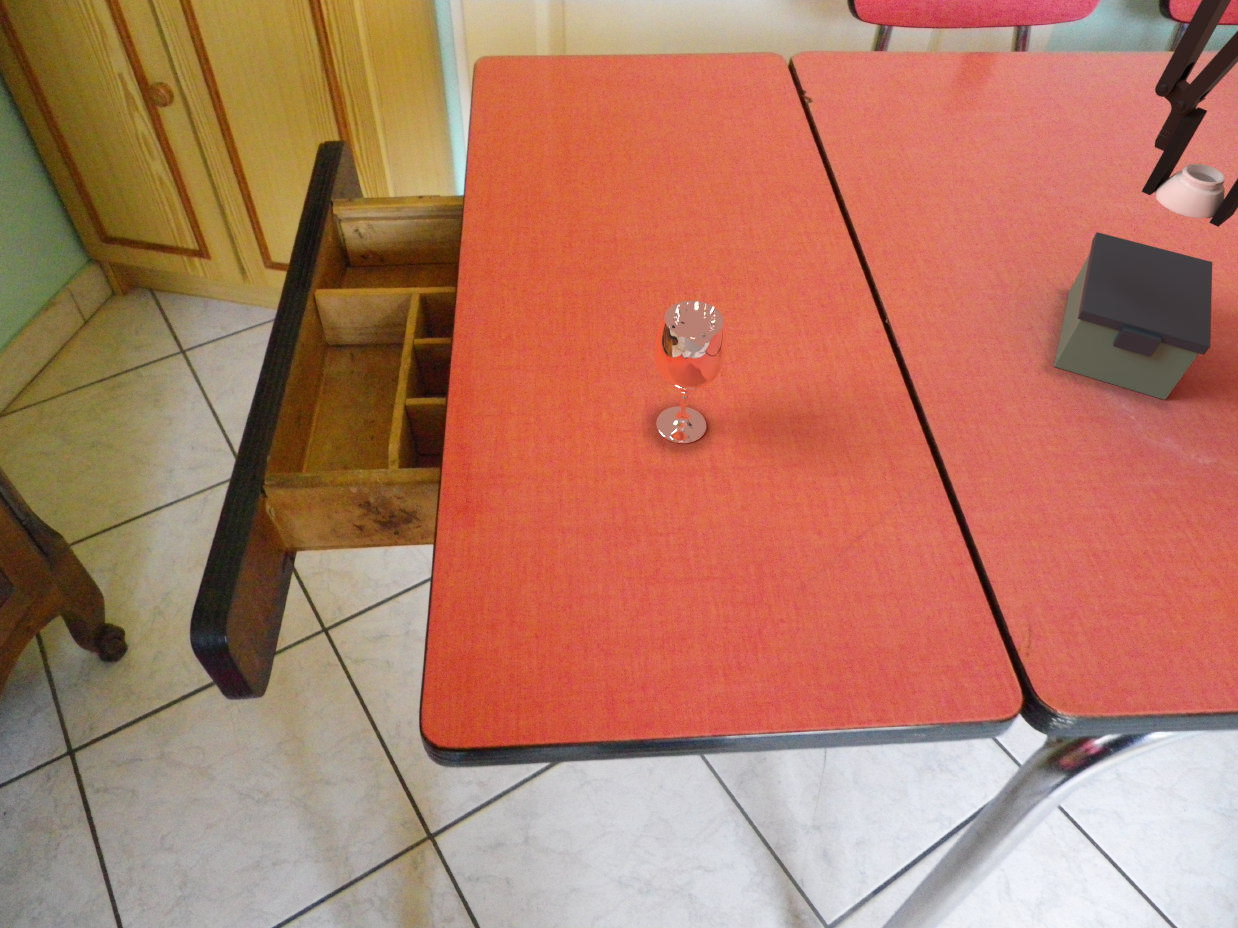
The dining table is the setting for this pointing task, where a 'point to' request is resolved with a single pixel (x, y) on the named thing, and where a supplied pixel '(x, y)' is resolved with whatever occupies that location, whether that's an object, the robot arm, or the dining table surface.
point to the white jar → (1193, 191)
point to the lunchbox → (1136, 316)
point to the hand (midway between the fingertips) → (1186, 202)
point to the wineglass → (688, 363)
